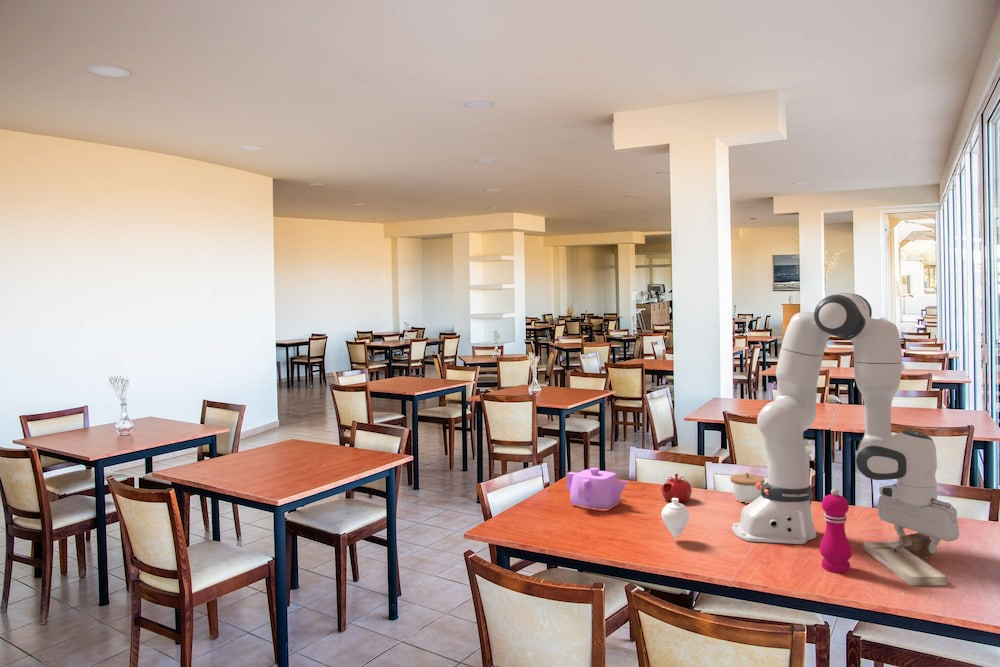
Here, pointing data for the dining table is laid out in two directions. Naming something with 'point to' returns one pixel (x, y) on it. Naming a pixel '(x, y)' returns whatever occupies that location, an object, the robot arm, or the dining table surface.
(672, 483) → the pomegranate
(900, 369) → the robot arm
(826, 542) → the pepper mill
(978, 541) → the dining table surface
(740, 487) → the lidded jar
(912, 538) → the gauge
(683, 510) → the spinning top
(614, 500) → the teakettle
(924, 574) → the plank
